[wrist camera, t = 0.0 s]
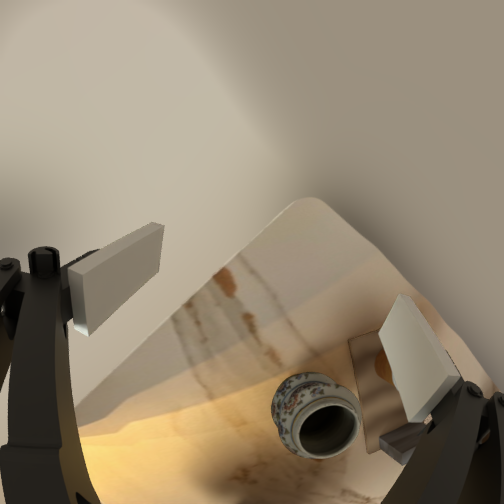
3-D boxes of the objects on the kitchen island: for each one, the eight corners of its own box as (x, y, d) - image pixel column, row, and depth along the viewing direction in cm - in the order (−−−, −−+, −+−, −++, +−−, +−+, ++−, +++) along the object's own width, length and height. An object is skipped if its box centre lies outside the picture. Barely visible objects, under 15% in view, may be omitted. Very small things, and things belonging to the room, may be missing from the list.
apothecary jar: (299, 438, 42) (324, 483, 25) (254, 400, 44) (258, 437, 27) (344, 393, 44) (389, 419, 27) (301, 354, 47) (331, 367, 29)
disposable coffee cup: (390, 328, 48) (426, 328, 36) (411, 362, 46) (447, 367, 34) (356, 361, 46) (387, 369, 34) (379, 394, 44) (412, 408, 33)
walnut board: (421, 425, 42) (450, 438, 31) (366, 452, 41) (390, 473, 30) (406, 318, 48) (439, 314, 38) (348, 339, 47) (373, 341, 36)
